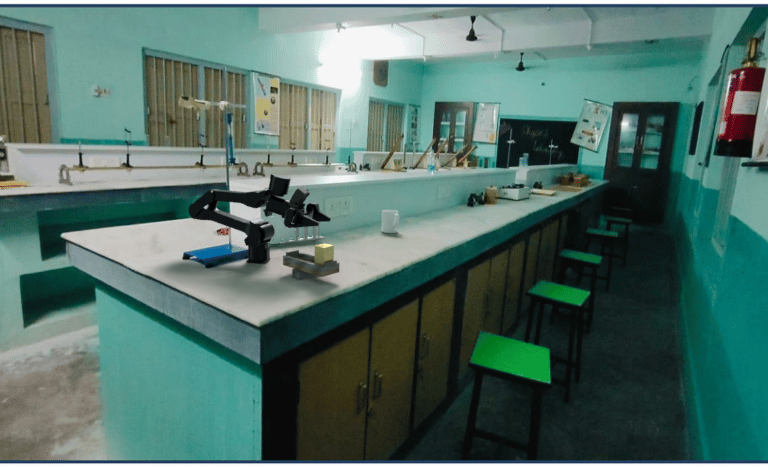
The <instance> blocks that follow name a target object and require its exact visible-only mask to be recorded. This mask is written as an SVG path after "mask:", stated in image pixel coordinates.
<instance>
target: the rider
mask: <svg viewBox="0 0 768 467" xmlns="http://www.w3.org/2000/svg"><path fill="white" fill-rule="evenodd" d="M334 255H335V246H334V245H333V244H330V243H329V244H328V243H325V242H324V243H320V244H316V245H314V256H315V264H317V265H321V266H324V263H326V262H330V261H334V259H335V258H334V257H335V256H334Z"/></svg>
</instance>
